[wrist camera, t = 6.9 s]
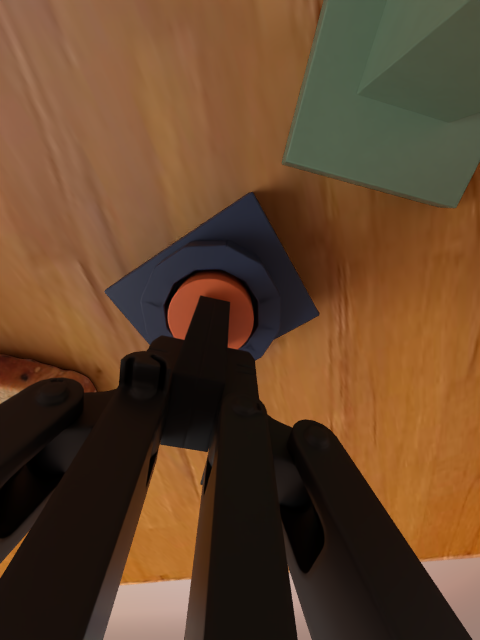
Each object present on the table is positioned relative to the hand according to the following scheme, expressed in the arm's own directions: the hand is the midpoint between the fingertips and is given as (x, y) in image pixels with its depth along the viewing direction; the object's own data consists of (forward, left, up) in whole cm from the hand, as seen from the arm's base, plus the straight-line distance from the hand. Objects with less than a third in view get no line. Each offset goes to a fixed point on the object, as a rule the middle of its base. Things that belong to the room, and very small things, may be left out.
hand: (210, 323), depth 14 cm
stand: (-15, -5, -5) cm, 17 cm away
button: (0, 0, -2) cm, 2 cm away
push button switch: (0, 0, -5) cm, 5 cm away
